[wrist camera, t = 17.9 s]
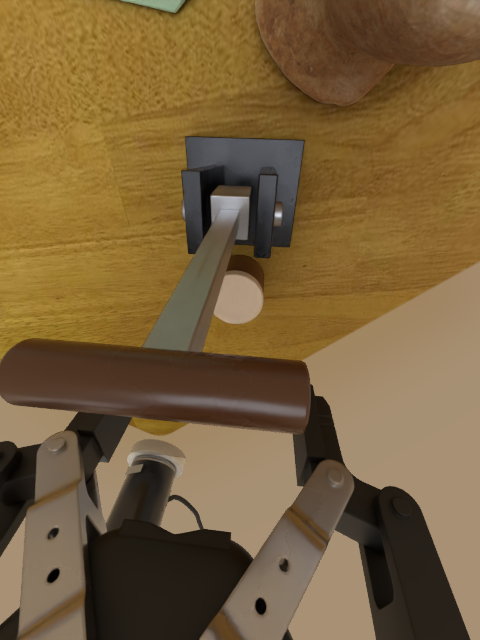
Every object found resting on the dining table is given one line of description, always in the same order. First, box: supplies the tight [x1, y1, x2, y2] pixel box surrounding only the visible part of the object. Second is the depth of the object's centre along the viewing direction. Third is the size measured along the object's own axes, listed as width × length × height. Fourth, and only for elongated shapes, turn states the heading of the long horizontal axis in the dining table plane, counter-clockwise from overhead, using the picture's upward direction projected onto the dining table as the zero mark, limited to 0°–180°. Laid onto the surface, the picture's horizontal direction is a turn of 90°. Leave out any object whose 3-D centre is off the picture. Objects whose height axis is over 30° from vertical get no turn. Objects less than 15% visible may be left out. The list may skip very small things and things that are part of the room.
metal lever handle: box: [0, 185, 311, 434], centre depth 11 cm, size 15×6×2 cm
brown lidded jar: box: [213, 255, 264, 324], centre depth 24 cm, size 5×5×5 cm
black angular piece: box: [181, 136, 304, 258], centre depth 18 cm, size 8×9×10 cm
